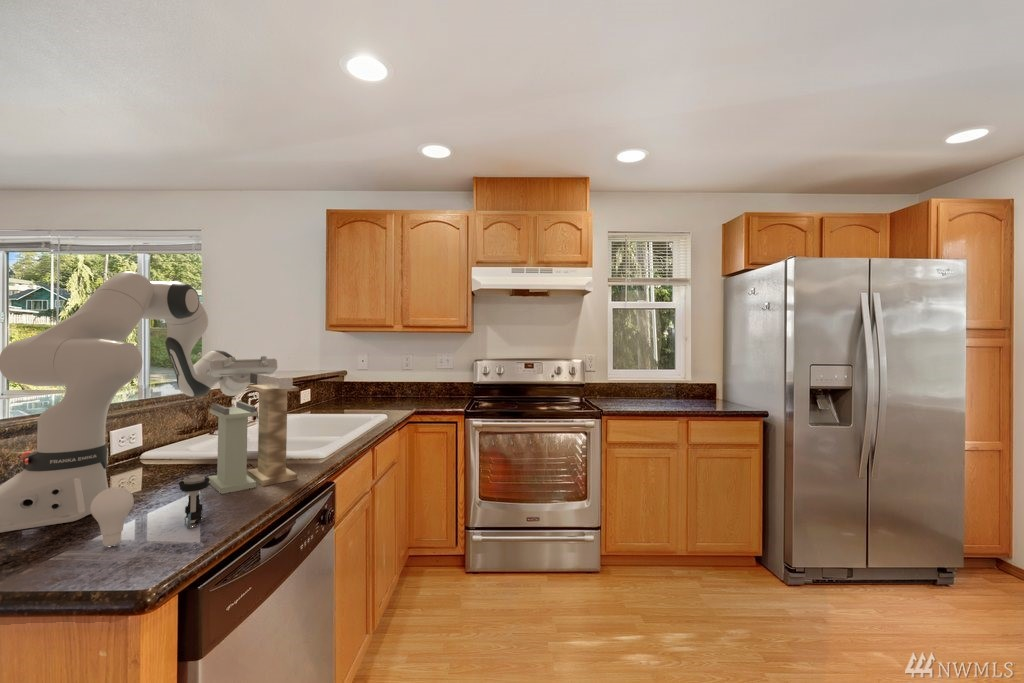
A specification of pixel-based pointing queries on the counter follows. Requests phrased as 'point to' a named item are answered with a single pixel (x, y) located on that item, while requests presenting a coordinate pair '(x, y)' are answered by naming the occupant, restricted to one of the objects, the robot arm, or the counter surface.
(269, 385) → the aluminium bar
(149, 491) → the counter surface
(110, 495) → the lightbulb
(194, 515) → the push button
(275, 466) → the stone pillar pedestal
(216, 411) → the pale green pedestal
